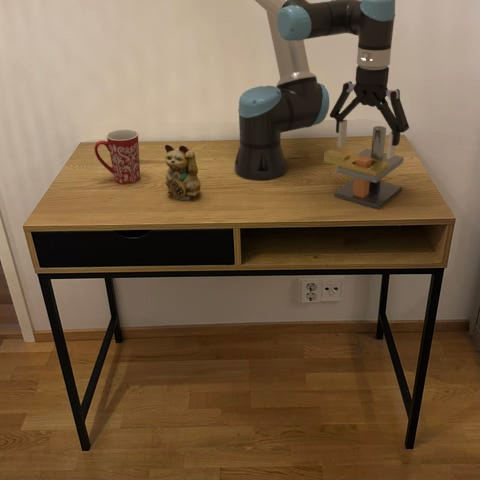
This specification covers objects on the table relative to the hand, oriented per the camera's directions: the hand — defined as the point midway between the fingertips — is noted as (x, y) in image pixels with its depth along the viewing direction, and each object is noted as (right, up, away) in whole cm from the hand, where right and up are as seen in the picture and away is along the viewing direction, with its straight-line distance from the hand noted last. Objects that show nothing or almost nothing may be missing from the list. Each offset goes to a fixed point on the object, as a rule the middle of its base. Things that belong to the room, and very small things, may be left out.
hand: (365, 151), depth 148 cm
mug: (-66, -5, +22) cm, 69 cm away
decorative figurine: (-46, -10, +12) cm, 49 cm away
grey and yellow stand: (+1, -9, +10) cm, 14 cm away
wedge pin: (0, -10, +6) cm, 12 cm away
